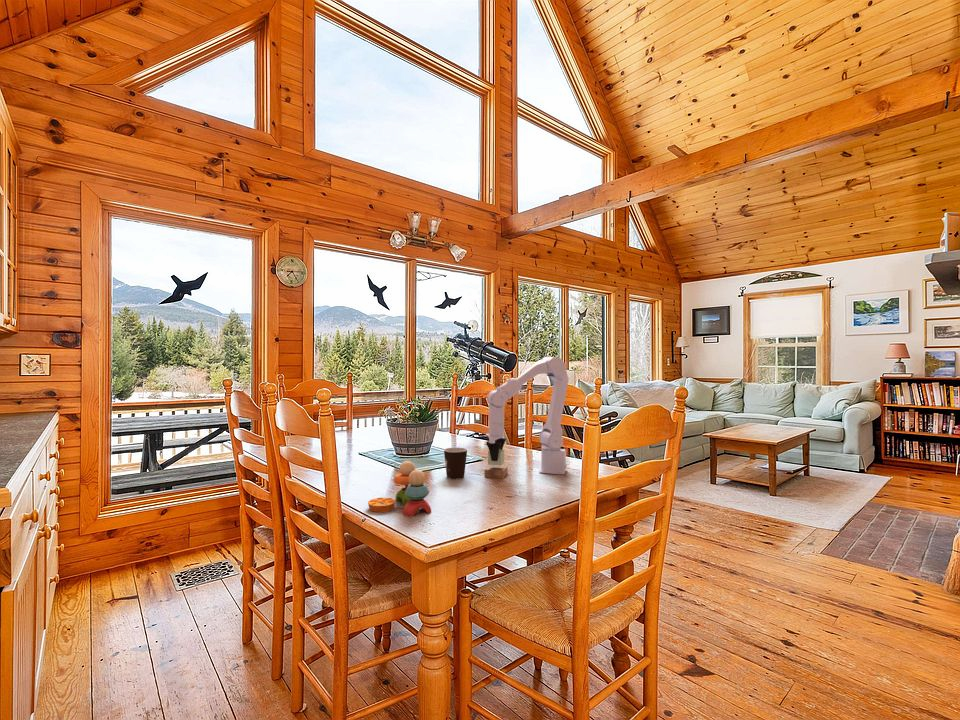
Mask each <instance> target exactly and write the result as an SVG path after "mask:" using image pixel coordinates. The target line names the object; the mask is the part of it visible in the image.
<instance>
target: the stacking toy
mask: <svg viewBox="0 0 960 720" xmlns="http://www.w3.org/2000/svg"><path fill="white" fill-rule="evenodd" d="M399 472H400V473H397V474H396V475H395V476H394V479H393V483H394V484H396V485H400V486H404V487H402V488H401V489H399V490H398V491H397V493H396V495H395V499H394V498H392V497H376V498H371V499H370V500H368V501H367V504H368V509H369V510H370V511H371V512H372V513H373V512H374V513H386V512H391V511H392V510H394V508H395V504H396V502H397V501H402V505H403V506H404V507H403V511H402V514H403V515H404V516H406V517H408V518H409V517H410V518H411V517H414V516H415V515H416V514H419V513H420V511H421V510H423V511H424V512H426V513H428V514H431V513H432V508H431V505H430V503H429V502H428V501H427V500H425V498H426V497H428V496H429V493H430V490H429V488H428V485H427V484H426V483H425V482H426V475H425V473H424V472H423V471H422V470H420V469H416V466H415V464H414V463H413V462H412V461H410V460H405V461H403V462H402V463H401V464H400V465H399Z"/></svg>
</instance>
